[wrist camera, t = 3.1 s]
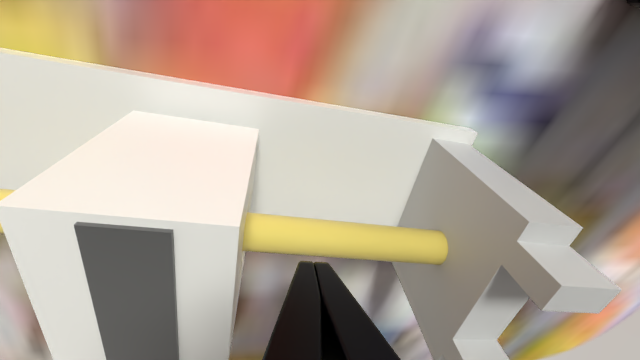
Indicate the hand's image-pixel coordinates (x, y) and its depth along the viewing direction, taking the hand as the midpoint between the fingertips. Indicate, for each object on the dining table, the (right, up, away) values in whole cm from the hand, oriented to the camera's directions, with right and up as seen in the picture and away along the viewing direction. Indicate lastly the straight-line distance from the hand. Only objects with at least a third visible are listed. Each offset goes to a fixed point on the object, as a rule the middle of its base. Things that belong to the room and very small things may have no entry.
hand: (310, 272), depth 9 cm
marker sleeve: (-4, +2, +3) cm, 6 cm away
